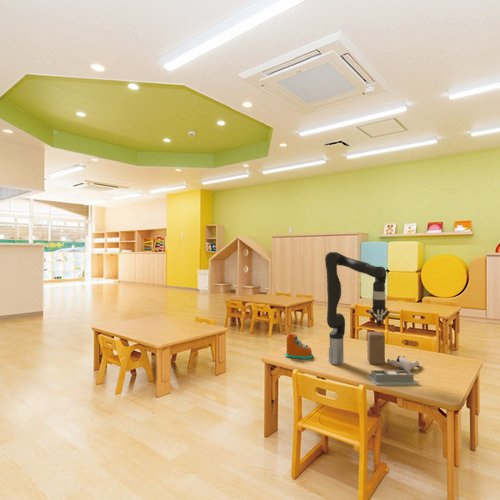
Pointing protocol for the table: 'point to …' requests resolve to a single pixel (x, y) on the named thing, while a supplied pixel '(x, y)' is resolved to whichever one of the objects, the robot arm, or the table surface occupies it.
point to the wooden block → (376, 348)
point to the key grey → (391, 372)
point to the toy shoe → (297, 348)
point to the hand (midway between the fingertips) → (379, 325)
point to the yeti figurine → (403, 363)
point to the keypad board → (391, 378)
